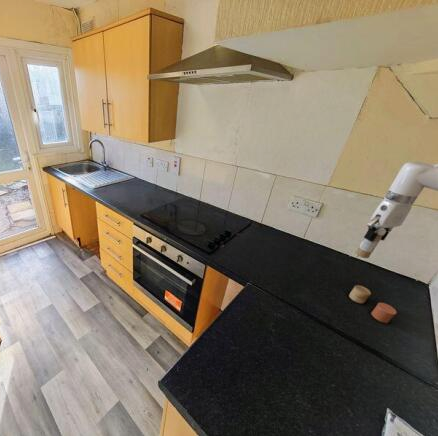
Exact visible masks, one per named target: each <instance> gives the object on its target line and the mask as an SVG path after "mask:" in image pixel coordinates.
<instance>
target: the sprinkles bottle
mask: <svg viewBox="0 0 438 436" xmlns="http://www.w3.org/2000/svg"><path fill="white" fill-rule="evenodd" d="M374 227H376V229H377V226H374ZM377 233H378V235H377V237H376V238H375V240H374V241H373V242H371V241H369V240H367V239H365V238H364V237H363V240H362V241H361V243H360V244H359V247H358V248H357V250H356V251H355V254H356V255H357V256H358V257H360V258H363V259H369V258H370V256H371V255H372V253H373V252H374V251H375V249H376V248H377V246H378V245H379V243H380V242H381V240H380V239H381V238H382V236H383V235H384V234H385V233H386V230H385V229H384V228H381V229H380V230H379V231H378V232H377Z"/></svg>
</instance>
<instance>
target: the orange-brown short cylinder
mask: <svg viewBox="0 0 438 436" xmlns="http://www.w3.org/2000/svg"><path fill="white" fill-rule="evenodd" d="M370 314H371V317H373V318H374V319H375V320H377V321H378V322H381V323H385V324H388V323H390V322H391V320H392V319H393V318H394V317H395V316H396V315H397V310H396V308H394V307H393V306H391V305H390V304H388V303H385V302H378V303H377V304H376V306H374V308H373V309H372V311H371V312H370Z"/></svg>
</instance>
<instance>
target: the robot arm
mask: <svg viewBox="0 0 438 436" xmlns="http://www.w3.org/2000/svg"><path fill="white" fill-rule="evenodd" d="M424 188H425V189H426V188H427V189H429V190H430V189H431V190H434V191H437V192H438V163H435V164H433V165H432V164H430V163H425V162H420V161H419V162H418V161H409V162H405V163H404V164H403V165H402V167H401V168H400V170H399V172H398V173H397V175H396V177H395V178H394V180H393V181H392V184H391V185H390V187H389V188H388V190H387V192H386V193H385V195H384V197H383V200H382V201H381V202H380V204H379V205H378V206H377V207H376V209H375V210H374V212H373V214H372V215H371V217H370V219H369V222H368V223H367V224H366V226H367V232H365V234H364V236H363V239H364V238H365V239H367V240H369V241H371V242H373V241H374V240H375V238H376V237H377V235H378V233H377V232H378V231H379V230H380V229H381V228H384V229H385V230H386V233H385V234H384V235H383V236H382V238H381V239H380V241H385V239H386V238H387V236H388V235H389V233H390V232H391V231H392V230H393V229H394V228H397V227H400V226H402V225H403V223H404V221H405V220H406V219H407V217H408V215H409V213H410V212H411V209H412V207H413V205H414V203H415V202H416V201H417V199H418V197H419V196H420V194H421V192H422V191H423V190H424ZM374 226H377V229H376V227H374Z"/></svg>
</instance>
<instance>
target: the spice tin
mask: <svg viewBox="0 0 438 436" xmlns="http://www.w3.org/2000/svg"><path fill="white" fill-rule="evenodd" d="M371 294H372V292H371V291H370V289H369V288H366V287H365V286H363V285H359V284H357V285H354V287H353V288H352V289H351V291H350V293H349V294H348V296H349V298H350V299H351V300H352V301H353V302H355V303H358V304H365V303H366V302H367V300H368V299H369V297H370V296H371Z"/></svg>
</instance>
